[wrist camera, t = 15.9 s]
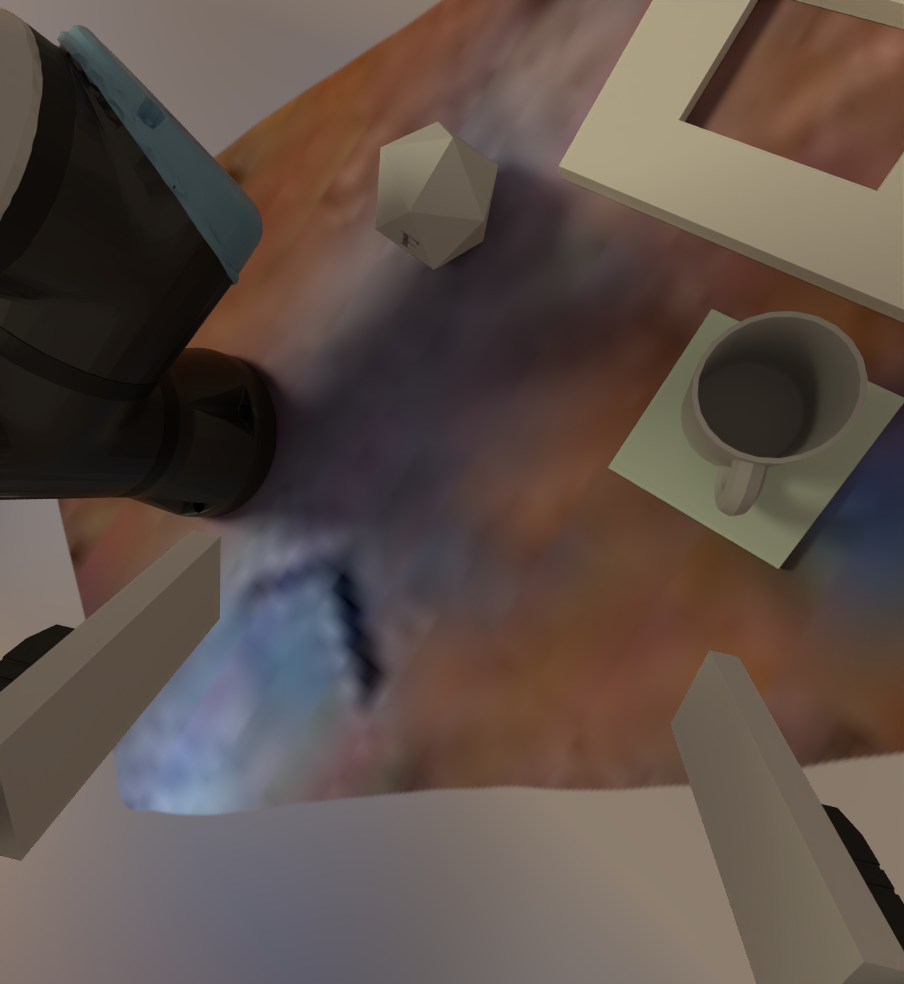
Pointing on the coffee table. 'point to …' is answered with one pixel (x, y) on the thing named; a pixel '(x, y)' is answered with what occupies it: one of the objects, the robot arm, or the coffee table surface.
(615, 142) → the beige flat frame
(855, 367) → the cup
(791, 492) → the coaster
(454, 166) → the die
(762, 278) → the coffee table surface
